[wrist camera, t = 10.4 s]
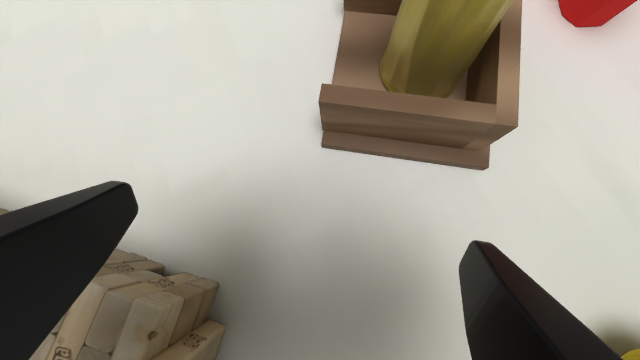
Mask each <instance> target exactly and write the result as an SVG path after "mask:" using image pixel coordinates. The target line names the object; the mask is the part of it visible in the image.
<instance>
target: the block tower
mask: <svg viewBox="0 0 640 360" xmlns="http://www.w3.org/2000/svg"><path fill="white" fill-rule="evenodd" d="M8 212H10V211H8V210H5V209H0V215H2V214H5V213H8ZM164 268H165V267H164V265H162V264H160V263H157V262H154V261H151V260H147V258H145V257H142V256H140V255H137V254H133V253H127V252H124V251H121V250H118V249H114V251H113V252H112V254H111V255H110V257H109V258H108V260H107V261H106V263H105V264H104V265H103V267H102V268H101V269H100V271H99V272H98V273H97V274H96V276H95V277H94V278H93V279H92V281H91V282H90V283H89V285H88V286H87V287H86V288H85V290H84V291H83V292H82V293H81V295H80V296H79V297H78V298H77V300H76V301H75V302H74V303H73V305H72V306H71V307H70V309H69V310H68V311H67V312H66V314H65V315H64V316H63V317H62V319H61V320H60V321H59V322H58V324H57V325H56V326H55V327H54V329H53V330H52V331H51V333H50V334H49V335H48V336H47V338H46V339H45V340H44V341H43V343H42V344H41V345H40V346H39V348H38V349H37V350H36V351H35V353H34V354H33V355H32V357H31V358H30V359H29V360H215V358H216V355H217V352H218V349H219V346H220V343H221V340H222V337H223V334H224V331H225V326H224V325H223V324H220V323H217V322H215V321H212V320H207V318H208V315H209V312H210V309H211V306H212V303H213V300H214V298H215V295H216V292H217V289H218V287H219V284H218V283H216V282H213V281H210V280H207V279H204V278H199V277H197V276H194V275H192V274H189V273H186V272H184V273H179V274H175V275H171V276H167V277H163V276H162V273H163V270H164Z"/></svg>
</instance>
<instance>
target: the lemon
mask: <svg viewBox="0 0 640 360" xmlns="http://www.w3.org/2000/svg"><path fill="white" fill-rule="evenodd" d="M621 358H623V359H624V360H640V348H638V349H635V350H631V351H629V352H627V353H626V354H624V355H623V356H621Z"/></svg>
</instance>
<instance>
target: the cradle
mask: <svg viewBox="0 0 640 360" xmlns="http://www.w3.org/2000/svg"><path fill="white" fill-rule="evenodd" d="M401 2H402V0H344V11H345V13H344V19H343V25H342V30H341V36H340V42H339V47H338V53H337V59H336V64H335V70H334V76H333V81H332V85H331V84H322V86H321V91H320V97H319V108H320V115H321V122H322V130H324V132H323V138H322V147H323V148H330V149H337V150H344V151H351V152H358V153H365V154H372V155H379V156H386V157H393V158H400V159H407V160H414V161H421V162H428V163H435V164H442V165H449V166H456V167H463V168H470V169H477V170H485V169H487V168H489V153H490V144H492V143H493V142H495V141H496V140H498V139H500V138H501V137H503V136H504V135H506V134H507V133H509V132H510V131H512V130H514V129H515V128H517V127H518V107H519V76H520V45H521V15H522V0H514V1H513V3H512V4H511V6H510V7H509V8H508V10H507V11H506V13H505V14H504V16H503V17H502V19H501V20H500V21H499V23H498V25H497V26H496V28H495V29H494V31H493V32H492V34H491V35H490V37H489V38H488V40H487V41H486V43H485V44H484V46H483V48H482V49H481V51H480V52H479V54H478V55H477V57H476V58H475V60H474V61H473V63H472V64H471V65H470V67H469V68H468V70H467V71H466V73H465V74H464V76H463V77H462V79H461V81H460V82H459V85H458V87H457V88H456V90H455V91H454V92H453V93H452V94H451V95H450V96H449V97H447V98H438V97H430V96H421V95H413V94H405V93H397V92H389V91H388V89H387V88H386V86H385V85H384V83H383V81H382V78H381V74H380V62H381V58H382V56H383V53H384V51H385V50H386V48H387V46H388V43H389V39H390V36H391V33H392V30H393V26H394V23H395V20H396V17H397V14H398V11H399V8H400V5H401Z"/></svg>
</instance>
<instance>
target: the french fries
mask: <svg viewBox="0 0 640 360" xmlns="http://www.w3.org/2000/svg"><path fill="white" fill-rule="evenodd" d="M558 1H559V6H560V9H561V13H562V16H563V17H564V18H566V19H567V20H568V21H569V22H571V23H572V24H573V25H574V26H576V27H590V26H602V25H603V24H605V23H606V22H607V21H609V20H610V19H612V18H613V17H614V16H616V15H617V14H619V13H620V12H621V11H623V10H624V9H626V8H627V7H629V6H630V5H631V4H633V3H634V2H636V1H637V0H558Z"/></svg>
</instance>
